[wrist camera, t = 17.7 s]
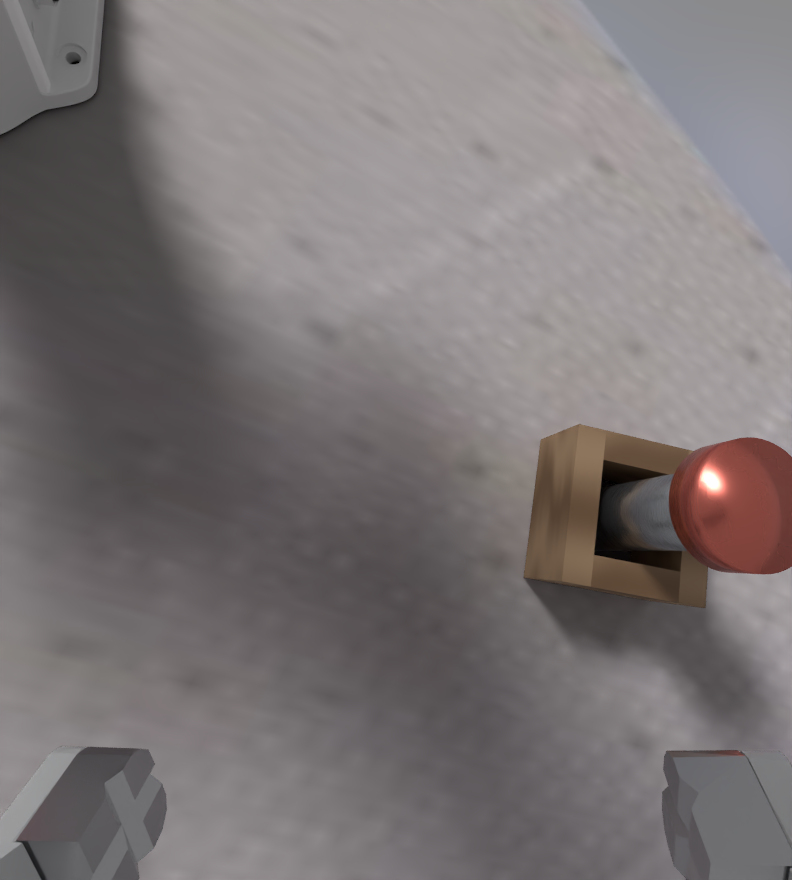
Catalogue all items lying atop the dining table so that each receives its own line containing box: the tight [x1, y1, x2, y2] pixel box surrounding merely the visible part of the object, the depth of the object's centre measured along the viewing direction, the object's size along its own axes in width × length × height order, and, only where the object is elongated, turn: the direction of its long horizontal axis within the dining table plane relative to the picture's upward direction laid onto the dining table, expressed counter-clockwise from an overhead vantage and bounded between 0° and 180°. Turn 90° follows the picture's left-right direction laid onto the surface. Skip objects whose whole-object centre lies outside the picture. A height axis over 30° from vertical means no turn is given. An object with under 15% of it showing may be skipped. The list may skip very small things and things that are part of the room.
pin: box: [594, 438, 792, 574], centre depth 33 cm, size 6×6×14 cm
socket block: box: [524, 424, 708, 608], centre depth 37 cm, size 9×9×5 cm
